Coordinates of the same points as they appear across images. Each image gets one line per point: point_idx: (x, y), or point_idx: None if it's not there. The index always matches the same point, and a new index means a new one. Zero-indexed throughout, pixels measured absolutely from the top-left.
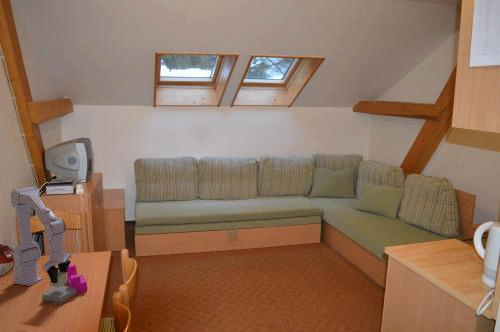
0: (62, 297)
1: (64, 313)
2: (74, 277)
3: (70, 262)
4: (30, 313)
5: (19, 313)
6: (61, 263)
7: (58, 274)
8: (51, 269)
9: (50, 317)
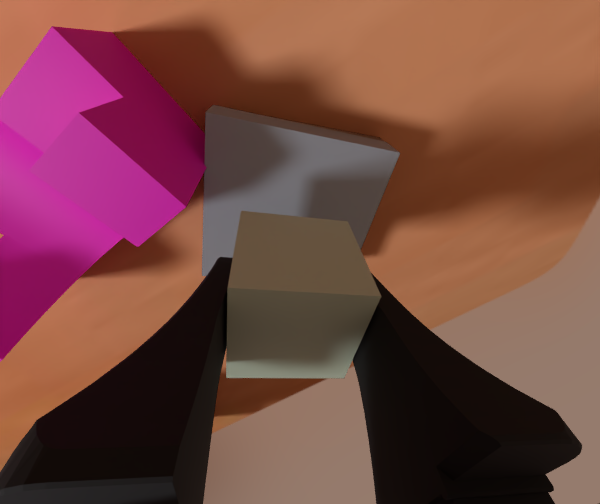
0: (373, 144)
1: (514, 21)
2: (143, 178)
3: (39, 425)
4: (457, 243)
5: (446, 284)
6: (195, 484)
7: (305, 331)
8: (541, 475)
9: (542, 105)
